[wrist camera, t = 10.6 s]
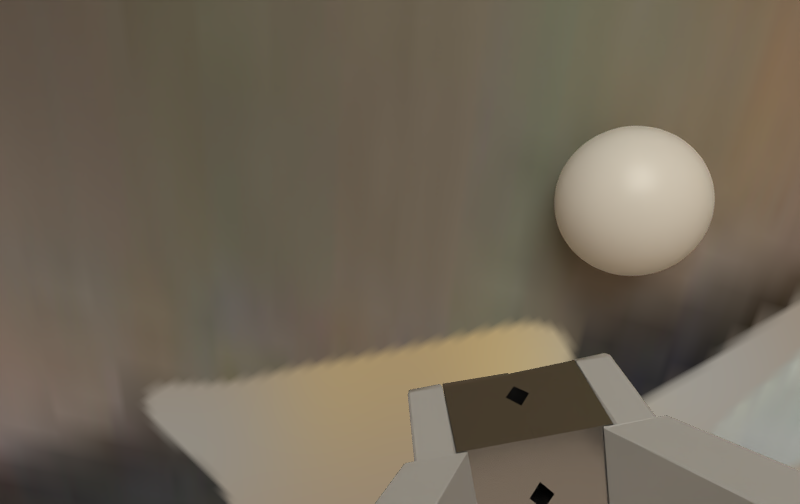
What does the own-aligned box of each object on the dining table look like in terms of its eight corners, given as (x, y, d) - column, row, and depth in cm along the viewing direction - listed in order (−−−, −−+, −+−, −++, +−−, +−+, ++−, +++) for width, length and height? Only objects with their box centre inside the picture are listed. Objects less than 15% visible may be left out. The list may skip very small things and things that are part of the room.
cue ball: (693, 313, 22) (663, 212, 26) (766, 204, 18) (719, 103, 22) (544, 298, 22) (536, 199, 26) (584, 186, 18) (567, 88, 22)
